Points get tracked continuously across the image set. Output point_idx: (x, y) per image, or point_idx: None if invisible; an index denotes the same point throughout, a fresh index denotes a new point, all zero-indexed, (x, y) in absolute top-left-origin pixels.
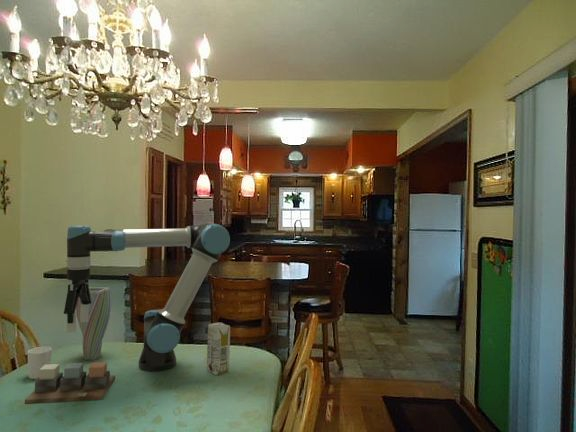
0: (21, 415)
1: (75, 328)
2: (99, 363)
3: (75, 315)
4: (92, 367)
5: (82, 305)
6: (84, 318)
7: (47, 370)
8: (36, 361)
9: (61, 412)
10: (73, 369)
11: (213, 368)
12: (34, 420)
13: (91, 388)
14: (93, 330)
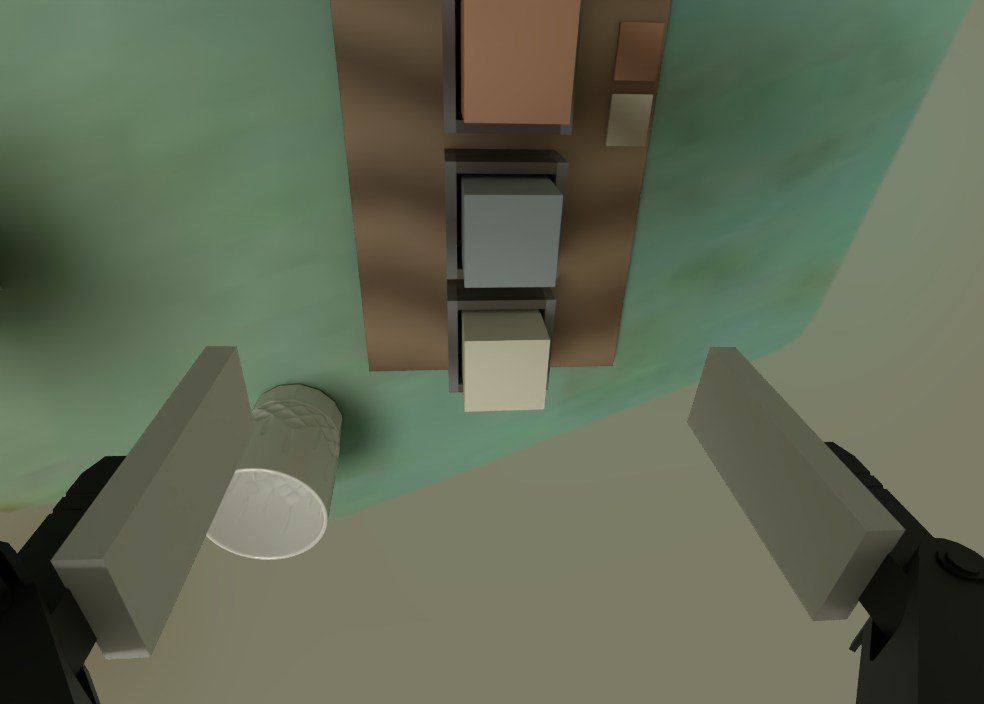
0: (720, 326)
1: (742, 369)
2: (487, 60)
3: (861, 497)
4: (569, 97)
5: (146, 622)
6: (231, 416)
7: (545, 369)
8: (332, 474)
9: (754, 173)
10: (558, 230)
11: None
12: (788, 261)
13: None
14: None
